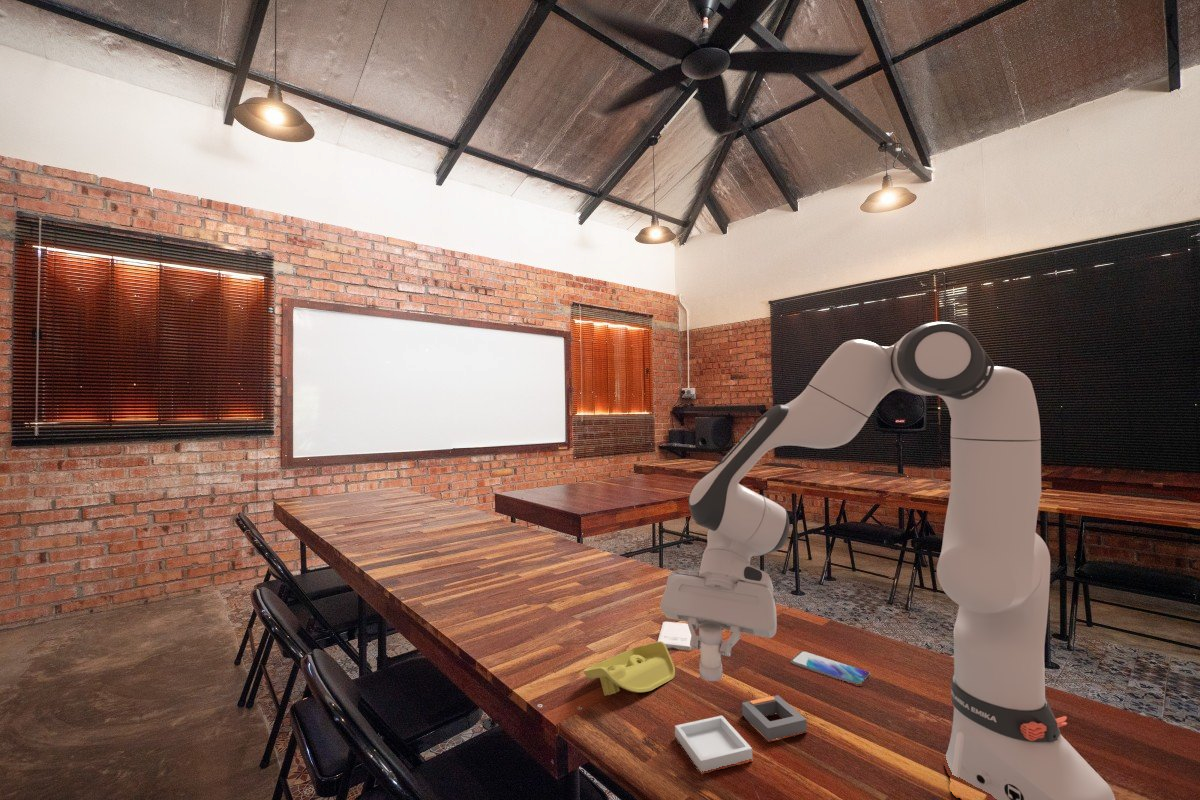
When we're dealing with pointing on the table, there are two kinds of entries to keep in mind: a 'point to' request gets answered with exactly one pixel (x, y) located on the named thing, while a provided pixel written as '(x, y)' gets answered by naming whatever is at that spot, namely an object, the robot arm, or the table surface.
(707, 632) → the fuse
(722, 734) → the tray
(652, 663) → the plastic component
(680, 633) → the external hard drive
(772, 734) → the block
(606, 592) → the table surface
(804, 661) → the smartphone
